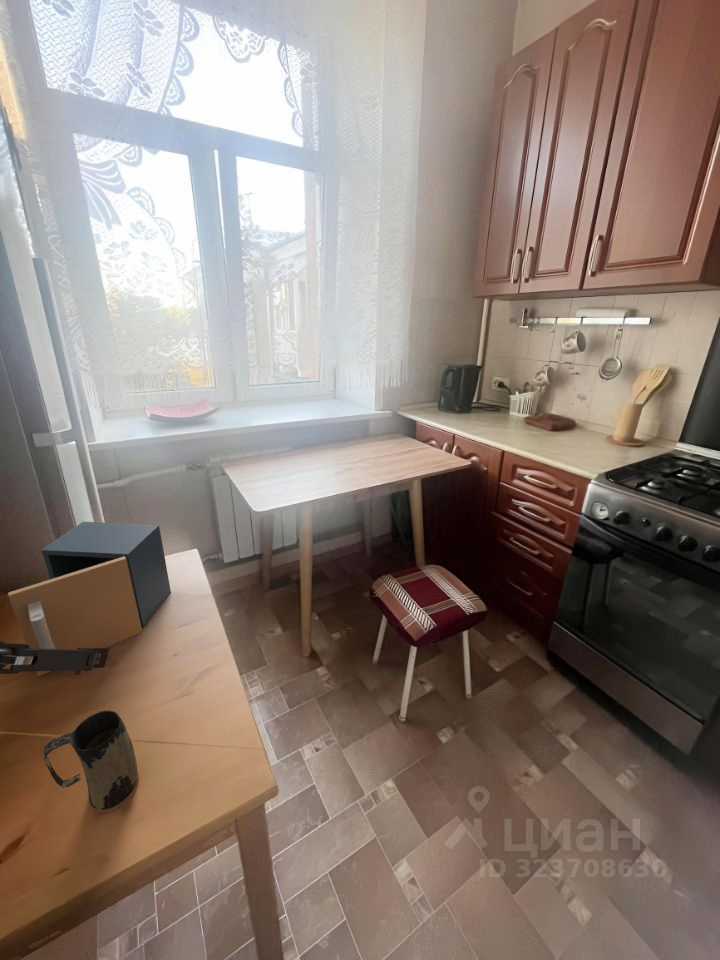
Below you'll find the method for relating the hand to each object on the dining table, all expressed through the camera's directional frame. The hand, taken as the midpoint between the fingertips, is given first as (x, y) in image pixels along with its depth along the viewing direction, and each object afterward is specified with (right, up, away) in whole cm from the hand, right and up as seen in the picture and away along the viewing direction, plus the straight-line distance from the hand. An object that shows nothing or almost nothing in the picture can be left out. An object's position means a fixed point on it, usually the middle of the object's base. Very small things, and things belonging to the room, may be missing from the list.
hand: (61, 655), depth 61 cm
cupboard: (-4, 0, +21) cm, 22 cm away
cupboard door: (0, -5, +8) cm, 10 cm away
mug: (+14, -13, -11) cm, 22 cm away
